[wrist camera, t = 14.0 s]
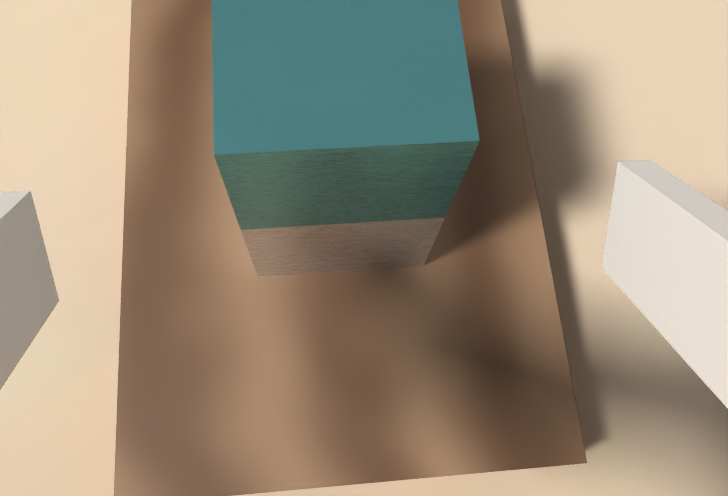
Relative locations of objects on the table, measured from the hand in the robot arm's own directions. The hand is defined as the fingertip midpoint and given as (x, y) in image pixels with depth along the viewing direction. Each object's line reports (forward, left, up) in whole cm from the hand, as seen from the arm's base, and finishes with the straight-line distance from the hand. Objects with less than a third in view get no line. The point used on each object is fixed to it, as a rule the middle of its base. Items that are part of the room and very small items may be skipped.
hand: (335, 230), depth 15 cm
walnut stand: (-1, -6, -15) cm, 17 cm away
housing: (-1, -6, -12) cm, 14 cm away
